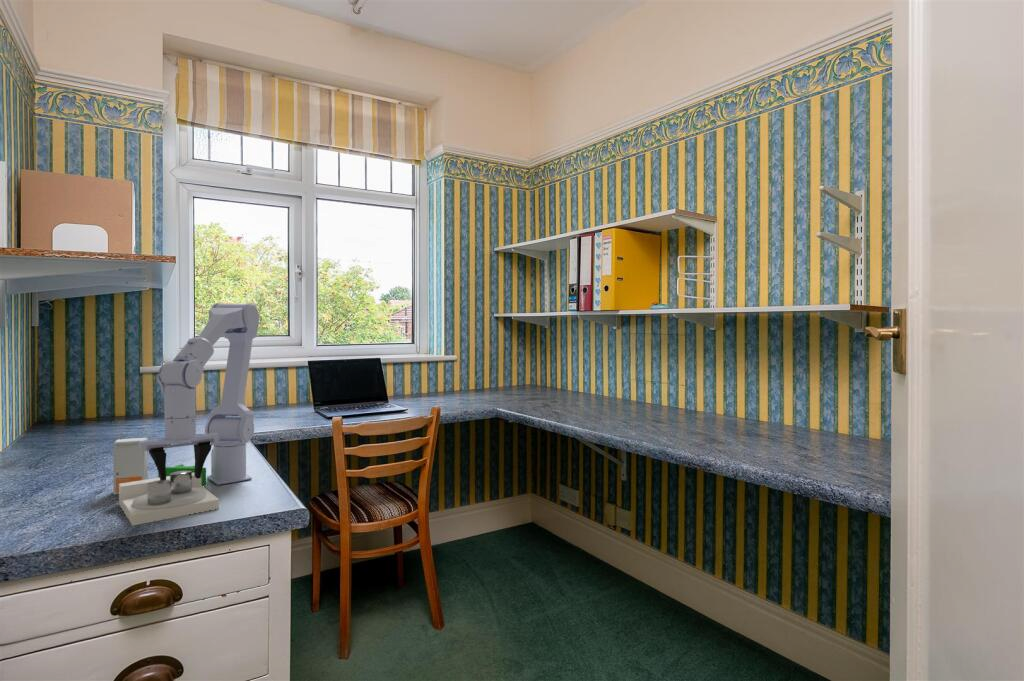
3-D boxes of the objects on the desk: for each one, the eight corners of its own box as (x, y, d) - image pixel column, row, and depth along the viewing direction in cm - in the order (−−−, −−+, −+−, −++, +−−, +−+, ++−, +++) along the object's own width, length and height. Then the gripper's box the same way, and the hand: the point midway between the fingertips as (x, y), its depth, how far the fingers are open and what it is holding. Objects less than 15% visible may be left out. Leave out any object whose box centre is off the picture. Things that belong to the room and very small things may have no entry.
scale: (119, 504, 118) (118, 483, 118) (198, 491, 128) (197, 471, 128) (132, 525, 106) (132, 502, 106) (218, 509, 116) (218, 487, 116)
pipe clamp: (212, 483, 136) (212, 465, 136) (203, 488, 132) (203, 468, 132) (168, 482, 137) (168, 463, 137) (158, 486, 133) (158, 467, 133)
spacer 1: (145, 502, 112) (145, 482, 112) (168, 498, 114) (168, 478, 114) (149, 507, 109) (149, 486, 109) (173, 502, 112) (172, 482, 111)
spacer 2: (167, 491, 119) (167, 473, 119) (188, 487, 122) (188, 469, 122) (173, 495, 116) (173, 476, 116) (194, 491, 119) (194, 473, 119)
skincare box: (112, 495, 125) (112, 442, 125) (117, 490, 129) (117, 438, 129) (144, 492, 127) (144, 440, 127) (148, 487, 131) (148, 437, 131)
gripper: (143, 422, 111) (144, 490, 112) (222, 415, 121) (222, 477, 121) (137, 418, 117) (137, 483, 117) (213, 412, 126) (214, 471, 127)
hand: (180, 480), depth 119 cm, fingers open, 6 cm apart
